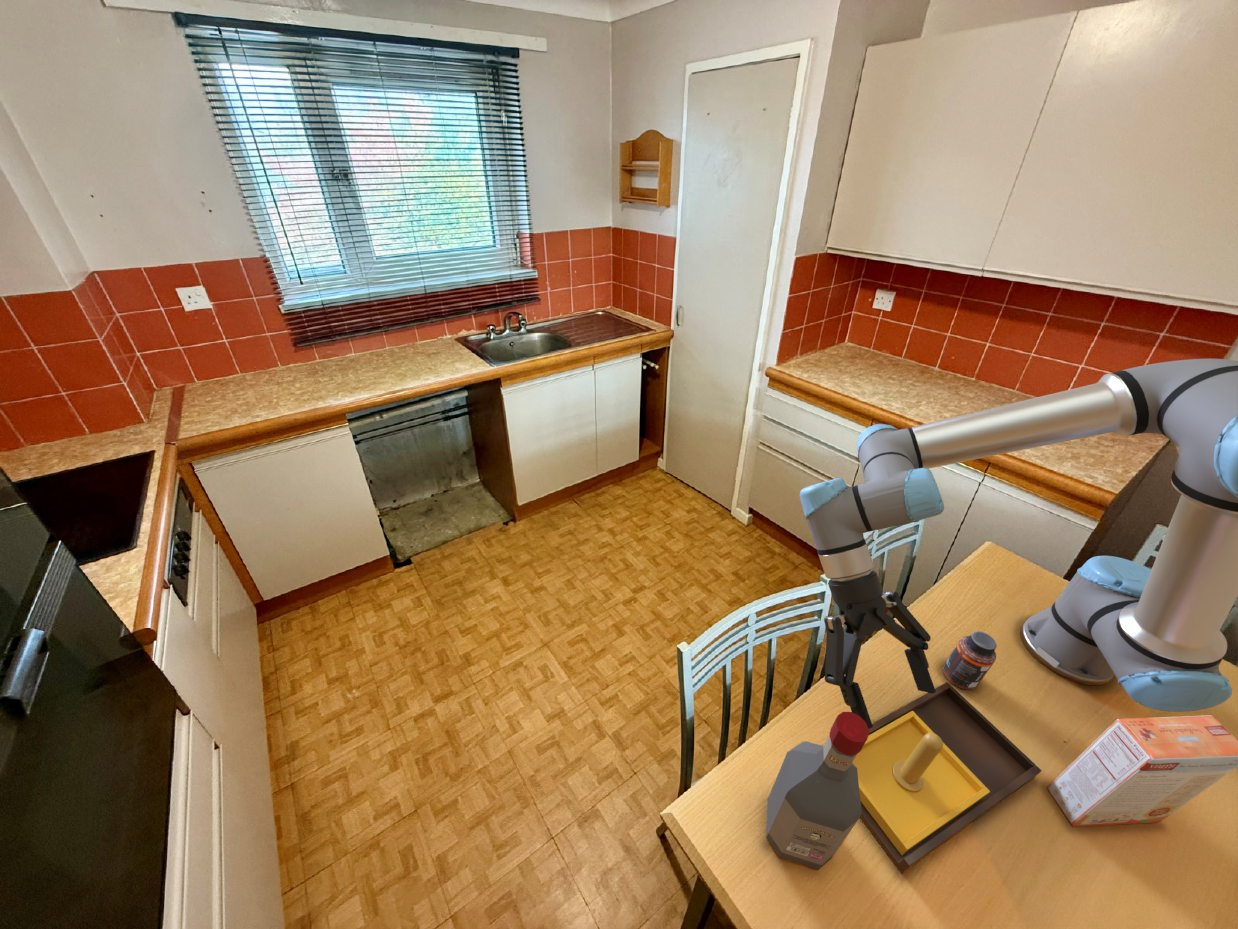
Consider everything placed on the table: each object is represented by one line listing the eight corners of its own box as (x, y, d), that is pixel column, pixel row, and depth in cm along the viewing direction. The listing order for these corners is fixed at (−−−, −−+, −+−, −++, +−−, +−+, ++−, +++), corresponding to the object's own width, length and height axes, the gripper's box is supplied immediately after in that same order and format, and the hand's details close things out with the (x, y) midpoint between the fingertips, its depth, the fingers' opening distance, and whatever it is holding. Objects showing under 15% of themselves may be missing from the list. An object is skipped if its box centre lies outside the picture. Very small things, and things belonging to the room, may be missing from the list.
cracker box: (1125, 782, 82) (1214, 712, 70) (1159, 825, 77) (1260, 758, 65) (1042, 784, 82) (1116, 715, 70) (1070, 828, 77) (1156, 761, 65)
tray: (908, 717, 89) (935, 674, 81) (984, 798, 78) (1023, 757, 71) (830, 762, 82) (852, 719, 75) (901, 856, 72) (936, 818, 65)
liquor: (830, 877, 71) (901, 779, 54) (764, 855, 73) (812, 754, 56) (826, 807, 78) (888, 700, 61) (766, 789, 80) (810, 681, 63)
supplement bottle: (980, 695, 94) (1007, 659, 88) (944, 685, 96) (969, 649, 89) (973, 668, 99) (998, 631, 92) (939, 659, 100) (962, 622, 94)
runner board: (940, 691, 95) (947, 681, 93) (1032, 779, 82) (1042, 770, 80) (817, 760, 84) (822, 751, 82) (901, 874, 72) (909, 866, 70)
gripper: (888, 553, 89) (930, 673, 86) (774, 598, 80) (818, 733, 78) (924, 551, 82) (972, 682, 79) (805, 600, 73) (854, 749, 71)
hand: (896, 708), depth 79 cm, fingers open, 13 cm apart
